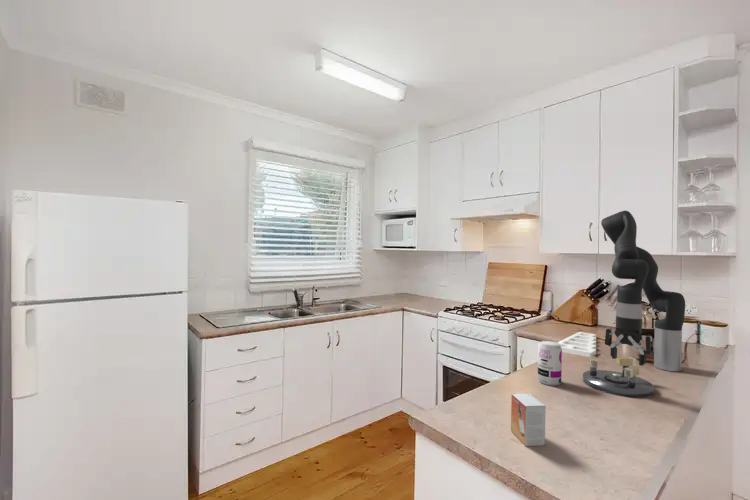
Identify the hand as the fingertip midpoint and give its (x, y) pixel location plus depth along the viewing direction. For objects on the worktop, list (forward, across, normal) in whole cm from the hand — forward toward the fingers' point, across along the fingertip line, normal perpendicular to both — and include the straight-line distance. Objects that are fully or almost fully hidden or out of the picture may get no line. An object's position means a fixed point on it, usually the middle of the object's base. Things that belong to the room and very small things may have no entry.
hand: (627, 361), depth 127 cm
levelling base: (+12, -6, +6) cm, 14 cm away
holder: (+12, -43, +54) cm, 71 cm away
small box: (+12, 0, -57) cm, 58 cm away
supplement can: (+12, -21, -13) cm, 27 cm away
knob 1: (+9, -13, +2) cm, 16 cm away
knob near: (+9, -6, +14) cm, 18 cm away
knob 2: (+9, 0, +2) cm, 9 cm away
